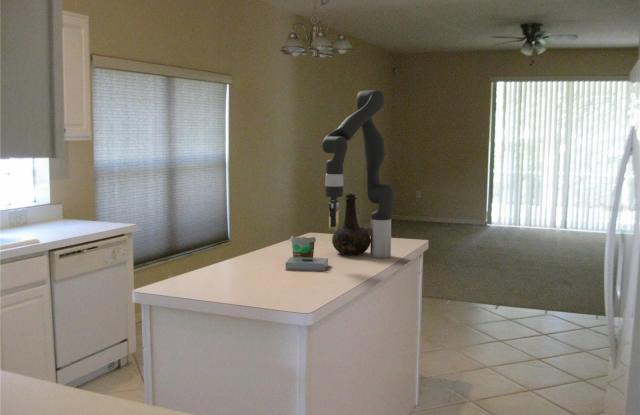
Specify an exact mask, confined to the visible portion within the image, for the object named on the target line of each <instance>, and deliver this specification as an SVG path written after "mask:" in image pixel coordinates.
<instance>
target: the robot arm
mask: <svg viewBox="0 0 640 415" xmlns="http://www.w3.org/2000/svg"><path fill="white" fill-rule="evenodd" d="M383 93H384V92H382V91H381V90H379V89H368V90H361V91H359V92H357V96H356V107H357V111H355V112H353V113H352V114H350V115H349V116H347V117H346V118H345V119H344V120H343V121H342V122H341V124H339V126H338V128H335V129H334V130H332V131H331V132H330V133H328V135H326V136H324V139H323V140H322V144H321V148H322V151H323V152H325V153H326V154H333V158H331V159H328V160H327V161H326V163H325V179H324V180H325V181H324V182H325V183H324V196H325V197H327V198H328V197H329V198H330V199H329V201H328V211H329V212H328V217H329V216H330V218H331V222H330V226H331V227H336V217H337V216H336V213H337V212H338V211H339V209H340V200H339V199H338V198H342V197H343V196H344V162H345V158H346V155H347V151H348V141H350V140H351V139H352V138H353V137H354V135H355V134H356V133H357V132H358V130H360V128H361V132H362V133H361V134H362V135H361V136H362V142H363V151H364V158H365V166H366V168H365V169H366V192H367V193H366V194H367V198H368V200H369V202H370V203H371V204H375V205H376V204H377V205H378V209H377V210H375V211H373V212H371V214H370V239H371V242H370V250H369V251H370V252H369V253H370V257H371V258H376V259H377V258H378V259H387V258H390V259H391V257H392V216H393V213H394V203H395V202H394V201H395V193H394V188H393V186H392V185H391V184H387V183H381V182H380V171H381V168H382V166H383V162H384V160H385V156H386V147H385V139H384V137H383V135H382V134H381V132H380V131H379V129H378V128H377V126H376V124H375V123H374V121H373V117H374V116H375V114H376V113H378V112H379V111H381V109H383V107H384V104H385V95H384V94H383ZM332 212H334V214H332ZM339 212H340V211H339ZM329 213H330V215H329Z"/></svg>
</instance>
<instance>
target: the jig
mask: <svg viewBox="0 0 640 415" xmlns="http://www.w3.org/2000/svg"><path fill="white" fill-rule="evenodd" d="M327 267H329V257H326V258H325V257H313V258H306V257H293V256H291V257H290V258H288V259H287V261H285V270H289V271H314V272H315V271H316V272H317V271H319V272H325V270H326V269H327Z"/></svg>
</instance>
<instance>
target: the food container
mask: <svg viewBox="0 0 640 415" xmlns="http://www.w3.org/2000/svg"><path fill="white" fill-rule="evenodd" d="M289 241H290V242H291V247H292V257H306V258H314V252H315V251H314V250H315V243H316V242H317V239H316V237H315V236H312V237H311V236H310V237H305V236H301V237H300V236H299V237H297V236H294V234H292V235H291V236H290V240H289Z"/></svg>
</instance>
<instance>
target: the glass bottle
mask: <svg viewBox="0 0 640 415" xmlns="http://www.w3.org/2000/svg"><path fill="white" fill-rule="evenodd" d="M343 199H344V200H345V207H344V208H345V209H344V210H345V211H344V220H343V224H342V226H341V227H339V230H338V231H334V233H333V234H332V238H331V243H332V245H333V248H334V250H336V251H337V252H338V253H339V254H342V255H345V256H357V255H358V256H359V255H361V254H363V253H365V252H366V251H367V250H368V249H370V248H369V247H371V234H370V233H369V231H368V230H367V229H366V228H364V227H362V226H361V227H360V225H359V223H358V219H357V210H356V200H358V198H357V197H356V194H355V193H348V194H347V193H346V194H345V197H344V198H343Z"/></svg>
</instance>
